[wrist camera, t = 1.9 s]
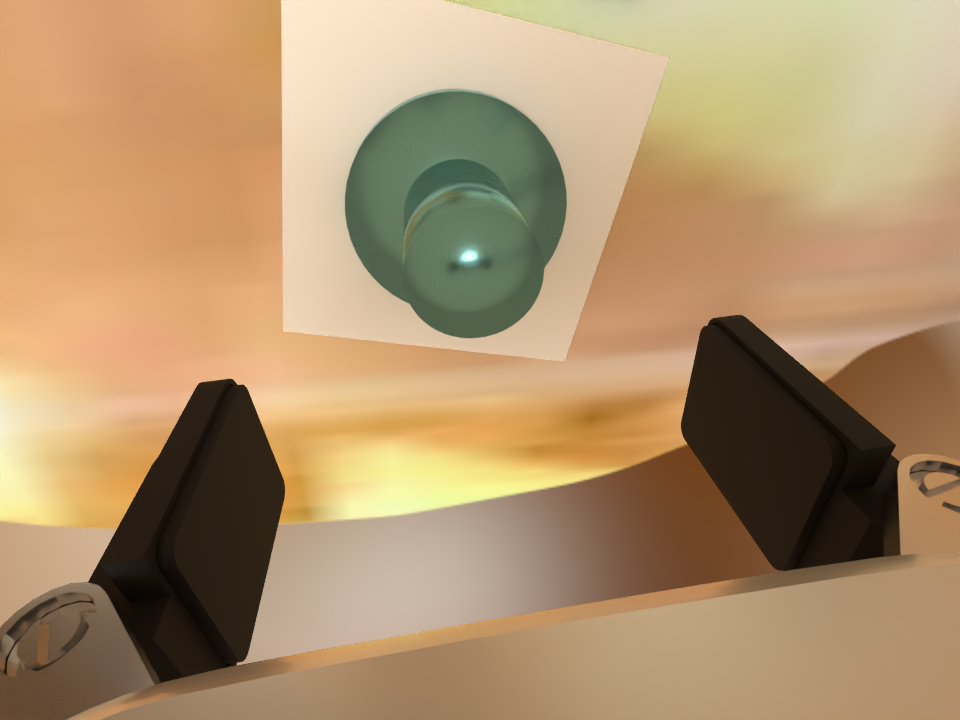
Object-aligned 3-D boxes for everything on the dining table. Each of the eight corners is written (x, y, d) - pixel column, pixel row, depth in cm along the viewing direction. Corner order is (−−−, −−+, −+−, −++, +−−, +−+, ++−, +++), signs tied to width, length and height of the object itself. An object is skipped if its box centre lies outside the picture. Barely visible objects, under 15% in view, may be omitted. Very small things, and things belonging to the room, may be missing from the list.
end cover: (558, 99, 24) (660, 153, 14) (514, 274, 29) (568, 403, 19) (364, 56, 22) (330, 85, 13) (350, 251, 27) (318, 380, 17)
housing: (623, 50, 23) (669, 56, 19) (543, 315, 31) (564, 361, 27) (306, -29, 21) (281, -41, 16) (301, 285, 28) (283, 331, 24)
